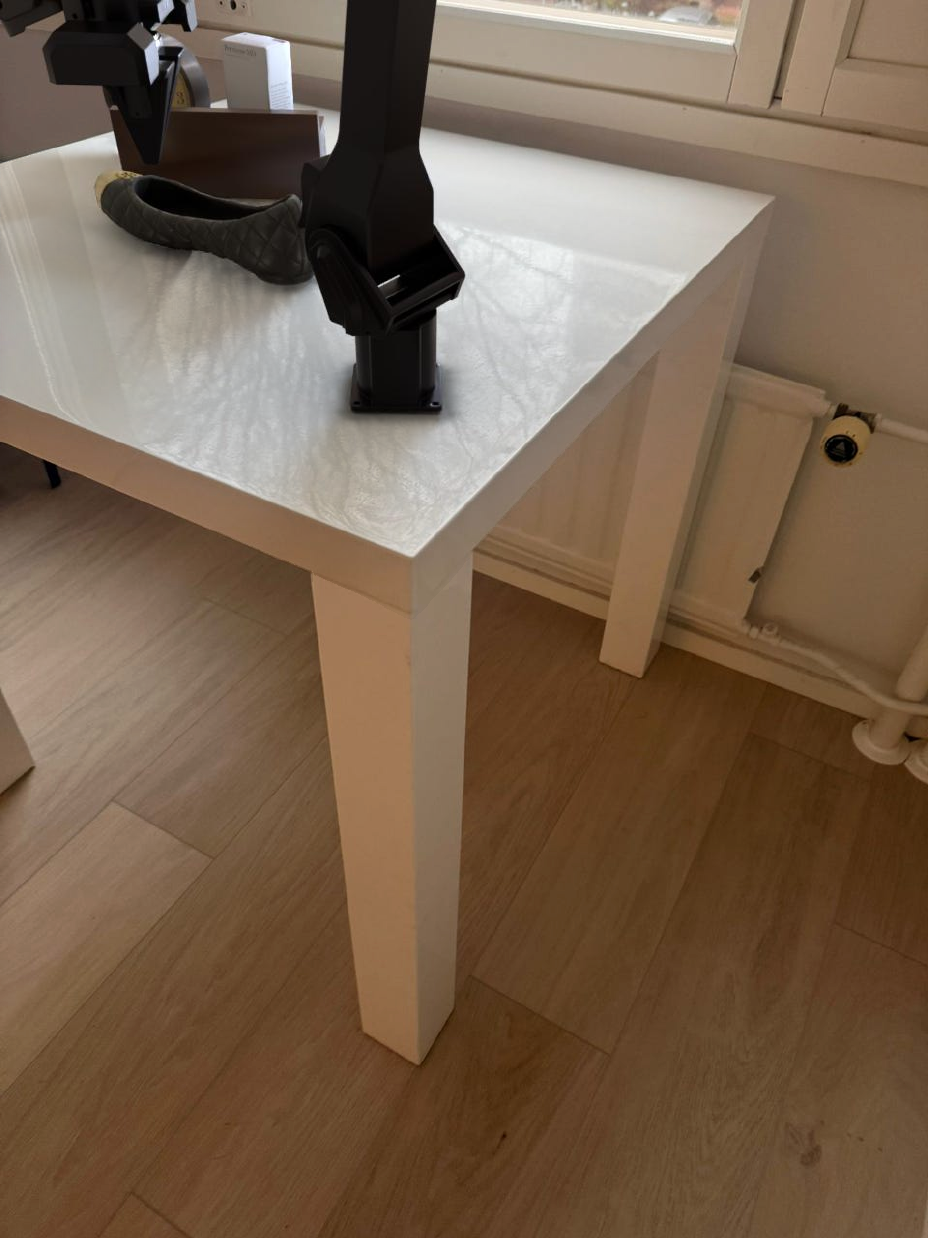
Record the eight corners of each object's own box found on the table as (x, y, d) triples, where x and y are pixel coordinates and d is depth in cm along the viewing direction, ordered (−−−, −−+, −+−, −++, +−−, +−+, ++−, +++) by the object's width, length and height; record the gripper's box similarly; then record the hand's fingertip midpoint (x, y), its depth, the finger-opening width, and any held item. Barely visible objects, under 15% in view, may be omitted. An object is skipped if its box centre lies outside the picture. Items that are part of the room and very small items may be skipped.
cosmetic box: (231, 164, 102) (215, 38, 94) (257, 154, 105) (243, 30, 97) (275, 175, 100) (262, 46, 92) (300, 164, 103) (290, 38, 95)
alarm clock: (114, 157, 103) (77, -18, 91) (140, 143, 106) (107, -26, 95) (202, 170, 100) (175, -8, 89) (225, 155, 104) (202, -17, 93)
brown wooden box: (323, 199, 95) (317, 114, 90) (127, 195, 94) (108, 109, 89) (327, 176, 100) (322, 94, 95) (141, 172, 99) (125, 89, 94)
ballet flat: (147, 204, 92) (131, 123, 87) (352, 268, 83) (348, 182, 78) (78, 230, 87) (57, 145, 82) (289, 302, 77) (279, 211, 72)
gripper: (18, -120, 64) (75, 124, 75) (-86, -87, 51) (2, 206, 61) (179, -114, 65) (213, 127, 76) (119, -79, 51) (170, 209, 62)
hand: (152, 163), depth 69 cm, fingers closed
